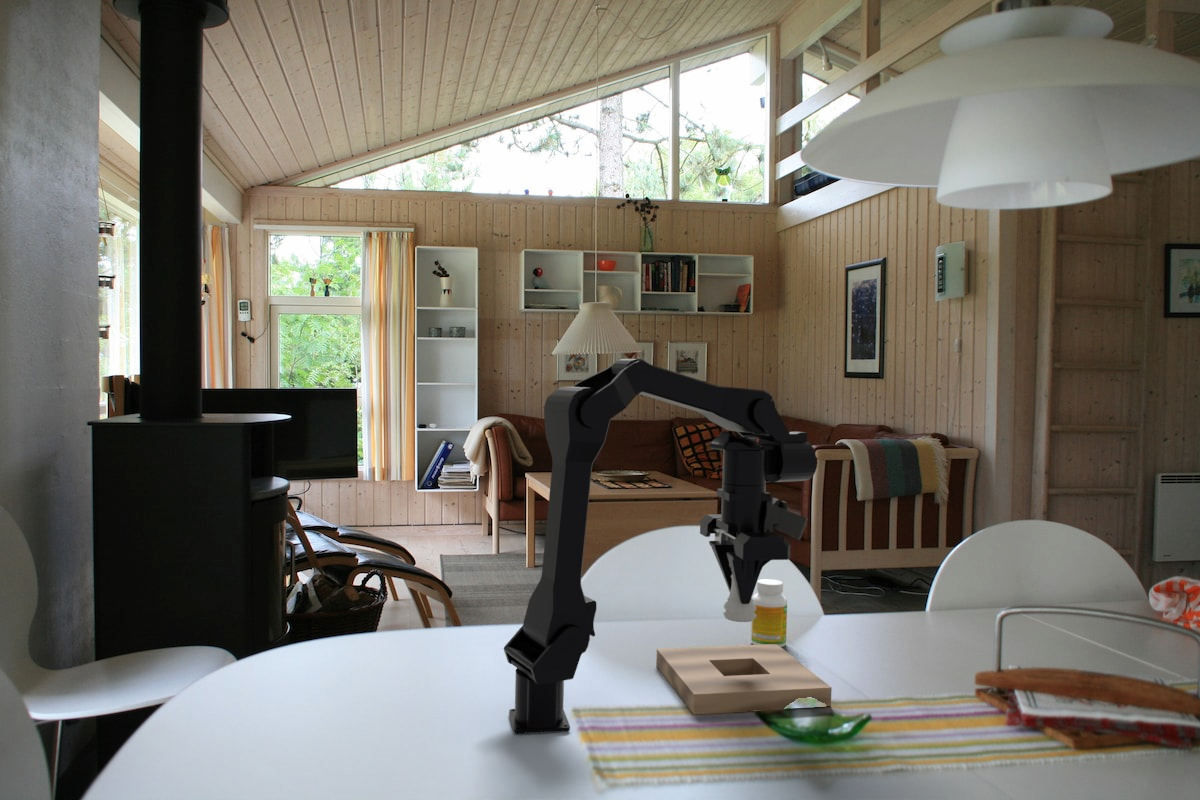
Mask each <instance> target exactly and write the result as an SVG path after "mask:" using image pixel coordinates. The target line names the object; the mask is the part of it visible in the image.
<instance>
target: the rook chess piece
mask: <svg viewBox="0 0 1200 800" xmlns="http://www.w3.org/2000/svg"><path fill="white" fill-rule="evenodd" d="M729 566H730V564H729ZM730 577H731V578H732V585H731V591H730V592H729V596H728V597H727V601H726V602H725V603H724V605H723V608H724V612H723V613H722V614H723V616H724V617H725V619H726V620H728V621H731V622H737V623H749V622H751V621H753V620H754V619H755V618H756V616H757V615H756V614H755V613H754V611H755V610H756V606H755V604H754V603H753V599H752V598H753V597H752V598H751V600H750V603H749V604H742V603H741V602H740V599H739V596H738V592H737V589H736V585H735V582H734V578H733V575H731V576H730Z"/></svg>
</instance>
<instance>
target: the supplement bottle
mask: <svg viewBox="0 0 1200 800" xmlns="http://www.w3.org/2000/svg"><path fill="white" fill-rule="evenodd" d="M756 590H757V593H755V594H753V595H752V599H753V603H754V604H755V606H756V610H755V611H754V613H755V614H756V615H757V616H756V618H755V619H754V620H753V621H750V622H751V623H750V626H751V627H750V642H751V645H763V644H777V645H778V646H780V647H781V648H783V647H786V644H787V620H788V619H787V618H788V617H787V616H788V599H787V597H785V595H783V594H782V593H783V592H784V582H782V581H781V580H779V579H773V578H772V579H771V578H762V579H758V580H757V583H756Z"/></svg>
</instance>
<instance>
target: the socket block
mask: <svg viewBox="0 0 1200 800" xmlns="http://www.w3.org/2000/svg"><path fill="white" fill-rule="evenodd" d="M655 659H656V661H655V662H656V664H655V665H656V668H657V669H658V670H659V671H660V673H661V674H662V676H663V677H664V678H665V679H666V681H667V683H669V684H670V686H671V687H672V689H674V691H675V693H676V694H677V695H678V697H680V699H681V701H683V703H684V704H685V706H687V708H688V709H689V711H690V712H691V713H692V714H693V715H695V716H696V715H710V714H711V715H713V714H729V713H749V712H748V711H751V712H755V711H754V710H766V711H767V712H768V711H782V710H781V709H784V708H785V707H786V706H787V705H789V704H790V703H792V702H794V701H795V700H796V699H798V698H807V697H812V698H815V699H817V700H818V701H820V702H822V703H825V704H826V705H827V706H831V707H832V691H833V690H832V689H833V688H832V686H830V684H828V683H826V682H825V681H824V680H823V679H821V678H820V677H819V676H818V675H816V674H815V673H814V672H813V671H812V670H810V669H809V668H808V667H807V666H805V664H803V663H801V662H800V661H799V660H798V659H796V658H795V657H794V656H793V655H791V654H790V653H789V652H787V651H786V650H785V649H784V648H783V647H780V646H778V645H777V644H763V645H754V644H743V645H740V644H739V645H720V646H719V645H717V646H713V645H712V646H694V647H665V648H662V647H661V648H656V658H655Z"/></svg>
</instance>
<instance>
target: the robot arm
mask: <svg viewBox="0 0 1200 800" xmlns="http://www.w3.org/2000/svg"><path fill="white" fill-rule="evenodd" d="M638 395H641V396H645V397H648V398H651V399H654V400H658V401H660V402H661V401H662V402H664V403H667V404H670V405H674V406H678V407H682V408H684V409H687V410H691V411H694V412H697V413H699V414H701V415H702V416H704V417H706V419H707V420H708V421H710V422H712V423H713V424H716V425H717V426H719V427H721V428H723V429H724V430H727V431H721V432H720V434H719V435H718V436H717V437H716V438H714V439H713V440H712V441H711V442H710V443H709V444H708V445H709V449H713V450H720V451H723V452H722V455H723V456H722V481H721V483H722V485H721V488H717V491H716V492H717V493H716V496H717V497H719V498H721V513H720V514H719V513H718V514H717V513H716V514H715V513H714V514H710V513H709V514H705V515H704V516H703V517H702V519H701V520H700V521H699V522H700V523H699V534H700V535H702V536H703V537H704V538H708V537H709V538H710V537H711V534H714V540H709V541H708V542H709V546H710V548H711V549H712V551H713V554H714V557H715V559H716V561H717V564H718V566H719V568H720V571H721V573H722V576H723V578H724V581H725V583H726V586H727V588H728V591H729V593H730V591H731V585H732V578H731V577H730V576H731V575H733V578H734V582H735V585H736V589H737V592H738V596H739V599H740V602H741V603H742V604H749V603H750V600H751V598H753V596H754V591H755V588H756V587H757V581H758V580H759V577H760V574H761V571H762V569H763V568H764V566H766V565H767V564H768V563H769V562H771V561H784V560H785V561H787V560H790V559H791V546H792V545H791V543H790V542H789V541H788V540H787V538H785V536H783V535H781V534H778V533H777V532H779V533H782V534H784V535H787V536H789V537H792V539H795V540H798V541H800V540H801V538H802V535H803V533H804V530H805V528H806V525H807V521H809V519H808V517H806V516H803V515H801V514H797V513H796V512H792V511H790V510H789V507H788V503H787V502H786V501H784V500H780V499H778V498H775V497H773V496H772V495H771V494H772V493H771V492H767V491H766V489H767V487H766V486H767V485H766V484H767V483H766V482H767V481H768V482H771V483H783V482H784V483H785V482H803V481H804V482H805V481H808V480H810V479H812V477H813V476H815V474H816V472H817V468H818V457H817V455H816V452H815V448H814V447H813V445H812V444H811V443H810V442H809V441H808V433H807V432H804V431H789V430H788V427H787V426H786V425H785V423H784V421H783V419H782V417H781V416H780V414H779V412H778V410H777V407H776V403H775V401H774V397H773V395H772V394H771V393H770V392H768V391H766V390H763V389H754V388H745V387H733V386H732V387H731V386H720V385H716V384H713V383H709V382H707V381H705V380H700V379H697V378H694V377H691V376H688V375H684V374H682V373H678V372H675V371H672V370H669V369H667V368H663V367H660V366H657V365H654V364H651V363H649V362H647V361H646V360H644V359H641V358H621V359H618V360H617V361H615V362H613V363H612V364H610V365H609V366H607V367H606V368H603V369H602V370H600V371H598V372H596V373H595V374H592V375H589V376H588V377H585V378H583V379H581V380H580V381H578V382H576V383H575V384H573V385H572V386H561V387H559V388H557V389H555V390H553V392H552V393H551V394H549V395H547V398H546V399H545V402H544V408H543V410H544V412H543V414H544V429H545V430H544V431H545V433H544V434H545V438H546V441H547V445H548V448H549V451H550V454H551V462H552V467H551V475H550V476H551V477H550V486H549V495H548V506H547V516H546V518H547V519H546V526H545V527H546V528H545V539H544V550H543V557H542V558H543V559H542V568H541V575H540V579H539V582H538V584H537V585H536V587H535V589H534V590H533V592H532V594H531V595H530V598H529V600H528V604H527V608H526V612H525V616H524V620H523V623H522V626H521V627H520V628H519V629H518V630H517V631H516V632H515V634H514V635H513V636H512V637H511V638H510V640H508V642H507V643H506V644H505V646H504V647H503V651H504V654H505V657H506V660H507V663H509V664H510V665H512V666H514V667H515V668H516V669H515V684H514V685H515V687H514V688H515V691H514V692H515V695H514V696H515V697H514V708H510V709H509V711H508V715H509V719H510V723H511V727H512V730H513V731H512V732H513V734H516V735H521V734H537V733H556V732H568V731H570V730H571V725H570V723H569V720H568V717H567V714H566V712H565V710H564V695H565V690H564V689H565V681H568V680H569V681H570V680H573V679H574V677H575V674H576V672H577V669H578V666H579V663H580V660H581V657H582V654H585V653H586V651H587V649H588V648H589V644H590V640H591V637H596V632H595V629H594V628H595V627H594V624H595V623H594V621H595V616H596V613H597V601H596V600H594V599H592V598H590V597H588V596H586V595H585V594H584V591H583V587H582V574H583V563H584V555H585V554H584V552H585V543H586V542H585V541H586V533H587V521H588V512H589V511H588V510H589V501H590V491H591V482H592V480H591V479H592V473H593V471H592V470H593V466H594V465H593V464H594V463H595V462H594V461H595V460H596V459H597V457H598V455H599V453H600V451H601V450H602V448H603V446H604V444H605V442H606V439H607V435H608V430H609V428H610V427H609V426H610V423H611V419H612V418H614V417H615V416H617V415H618V414H620V413H621V412H623V411H624V410H625V409H627V408H628V406H629V405H630V403H632V401H634V399H635V398H636V397H637V396H638ZM731 431H733V432H736V434H738V435H740V436H736V435H734V433H733V432H731ZM755 439H756V440H755ZM757 440H758V441H757ZM774 530H776V531H777V532H775V531H774ZM729 564H730V566H729Z"/></svg>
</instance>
